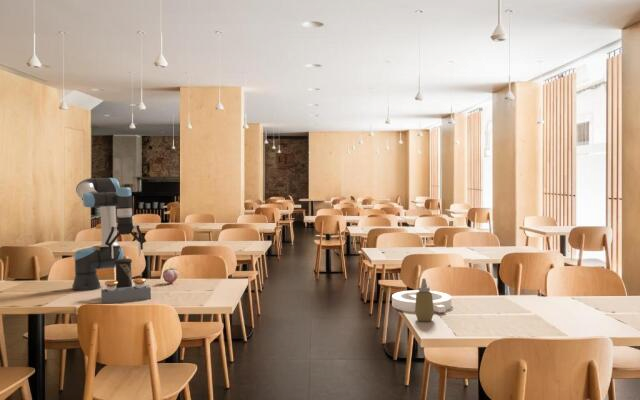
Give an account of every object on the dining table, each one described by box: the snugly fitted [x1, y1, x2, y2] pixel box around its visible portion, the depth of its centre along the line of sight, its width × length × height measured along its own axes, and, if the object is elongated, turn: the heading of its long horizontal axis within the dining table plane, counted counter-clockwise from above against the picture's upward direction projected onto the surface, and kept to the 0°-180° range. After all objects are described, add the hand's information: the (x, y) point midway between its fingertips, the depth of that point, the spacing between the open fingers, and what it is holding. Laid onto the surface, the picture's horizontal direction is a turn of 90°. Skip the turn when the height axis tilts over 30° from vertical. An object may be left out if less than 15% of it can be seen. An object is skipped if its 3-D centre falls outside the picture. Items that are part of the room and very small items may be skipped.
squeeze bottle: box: [414, 278, 435, 323], centre depth 232 cm, size 8×8×18 cm
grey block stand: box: [100, 284, 152, 304], centre depth 284 cm, size 24×8×6 cm, turn 114°
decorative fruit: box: [162, 267, 179, 284], centre depth 328 cm, size 9×8×10 cm
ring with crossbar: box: [391, 289, 452, 313], centre depth 259 cm, size 28×28×5 cm
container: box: [115, 258, 133, 288], centre depth 296 cm, size 9×9×20 cm
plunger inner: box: [104, 280, 118, 291], centre depth 281 cm, size 6×6×7 cm
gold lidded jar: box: [132, 277, 147, 289], centre depth 286 cm, size 6×6×7 cm
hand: (126, 257), depth 284 cm, fingers open, 13 cm apart
